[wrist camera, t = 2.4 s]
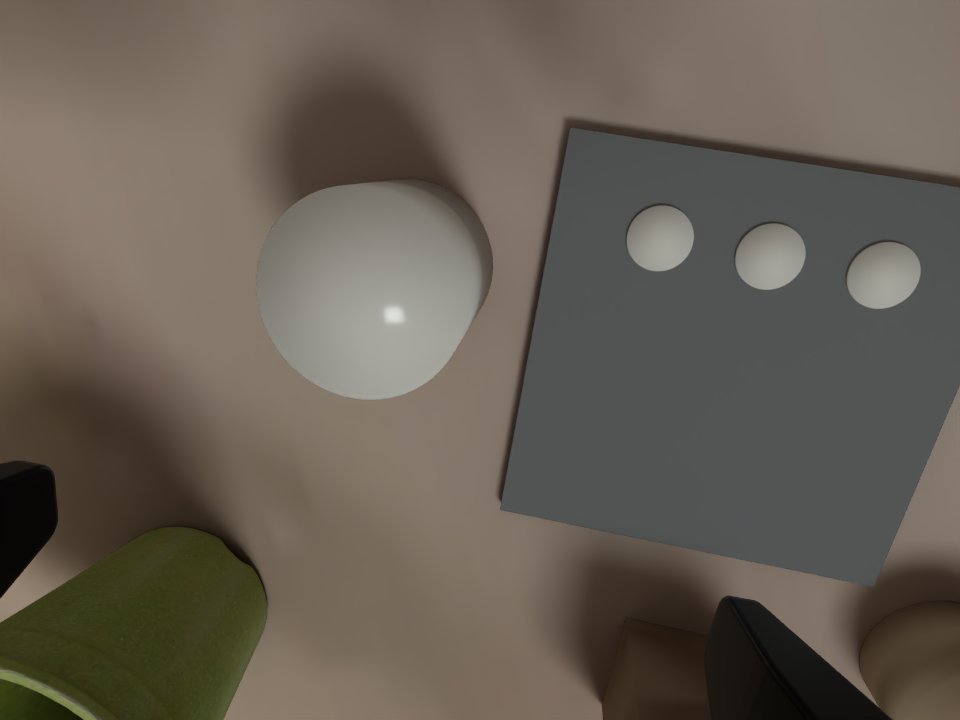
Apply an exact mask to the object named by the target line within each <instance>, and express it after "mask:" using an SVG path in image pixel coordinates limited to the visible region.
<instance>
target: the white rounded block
mask: <svg viewBox="0 0 960 720" xmlns="http://www.w3.org/2000/svg"><path fill="white" fill-rule="evenodd" d="M492 273H493V256H492V250H491V245H490V242H489V239H488V235H487V233H486V231H485V229H484V226H483V224H482V223H481V221H480V219H479V218H478V216H477V215H476V213H475V212H474V211H473V210H472V209H471V207H470V206H469V205H468V204H467V203H466V202H465V201H464V200H463V199H462V198H460V197H459V196H457V195H456V194H455V193H453V192H452V191H450V190H448V189H446V188H444V187H443V186H440V185H438V184H435V183H432V182H428V181H424V180H417V179H398V180H388V181H378V182H369V183H359V184H349V185H340V186H335V187H329V188H325V189H322V190H319V191H316V192H314V193H312V194H310V195H308V196H306V197H304V198H302V199H300V200H299V201H298V202H296V203H295V204H293V205H292V206H291V207H289V208H288V209H287V210H286V211H285V212H284V213H283V214H282V215H281V216H280V217H279V219H278V220H277V221H276V223H275V224H274V225H273V227H272V228H271V230H270V232H269V234H268V235H267V237H266V239H265V242H264V244H263V247H262V249H261V252H260V256H259V260H258V265H257V274H256V294H257V300H258V306H259V310H260V314H261V317H262V320H263V323H264V325H265V328H266V330H267V332H268V334H269V336H270V338H271V340H272V341H273V343H274V345H275V346H276V348H277V349H278V351H279V352H280V353H281V355H282V356H283V357H284V358H285V359H286V361H287V362H288V363H289V364H290V365H291V366H292V367H293V368H294V369H295V370H297V371H298V372H299V373H300V374H301V375H302V376H304V377H305V378H307V379H308V380H310V381H311V382H312V383H314V384H316V385H318V386H320V387H322V388H323V389H325V390H328V391H330V392H333V393H336V394H338V395H342V396H346V397H350V398H357V399H374V400H377V399H385V398H391V397H395V396H399V395H403V394H405V393H407V392H410V391H412V390H415V389H416V388H418V387H420V386H421V385H423V384H425V383H426V382H428V381H429V380H430V379H431V378H433V377H434V376H435V375H436V374H437V373H438V372H439V371H440V370H441V369H442V368H443V367H444V366H445V364H446V363H447V362H448V360H449V359H450V358H451V356H452V355H453V353H454V351H455V350H456V348H457V346H458V345H459V343H460V342H461V340H462V338H463V337H464V335H465V333H466V332H467V330H468V328H469V327H470V325H471V323H472V322H473V320H474V319H475V317H476V315H477V314H478V312H479V310H480V309H481V307H482V305H483V303H484V301H485V299H486V297H487V295H488V292H489V289H490V285H491V281H492Z"/></svg>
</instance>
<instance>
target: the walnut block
mask: <svg viewBox="0 0 960 720" xmlns="http://www.w3.org/2000/svg"><path fill="white" fill-rule="evenodd" d="M707 638H708V636H707V635H702V634H698V633H693V632H688V631H684V630H679V629H675V628H670V627H665V626H661V625H656V624H652V623H647V622H642V621H638V620H633V619H629V618H626V620H625V624H624V627H623V631H622V635H621V638H620V642H619V645H618V649H617V653H616V656H615V660H614V664H613V667H612V671H611V674H610V678H609V682H608V685H607V689H606V692H605V696H604V700H603V703H602V712H603V720H711V719H710V711H709V704H708V696H707V688H706V680H705V672H704V661H703V658H704V649H705V644H706V641H707Z"/></svg>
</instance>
